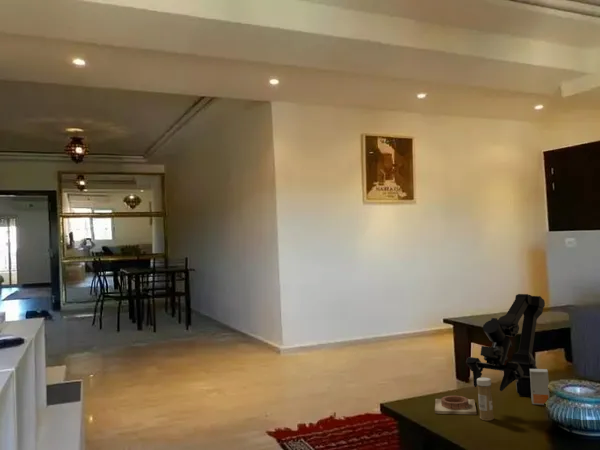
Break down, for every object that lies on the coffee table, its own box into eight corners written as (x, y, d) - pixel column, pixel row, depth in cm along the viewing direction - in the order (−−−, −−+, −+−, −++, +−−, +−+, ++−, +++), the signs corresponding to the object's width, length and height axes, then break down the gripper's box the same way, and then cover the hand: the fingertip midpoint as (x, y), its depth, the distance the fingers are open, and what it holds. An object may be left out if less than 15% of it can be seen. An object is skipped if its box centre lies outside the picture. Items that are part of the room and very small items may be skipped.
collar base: (474, 402, 196) (473, 394, 196) (476, 414, 182) (475, 405, 182) (435, 401, 199) (435, 393, 199) (435, 413, 186) (434, 405, 186)
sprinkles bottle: (496, 419, 176) (493, 379, 176) (484, 421, 175) (481, 381, 175) (488, 415, 180) (485, 376, 181) (476, 417, 179) (473, 377, 180)
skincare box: (532, 404, 189) (529, 371, 189) (531, 401, 193) (529, 368, 193) (550, 405, 186) (548, 371, 187) (550, 402, 190) (547, 368, 191)
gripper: (466, 334, 190) (453, 371, 182) (517, 338, 177) (505, 379, 169) (478, 352, 196) (465, 389, 187) (528, 358, 182) (517, 397, 174)
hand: (487, 388), depth 179 cm, fingers open, 9 cm apart
